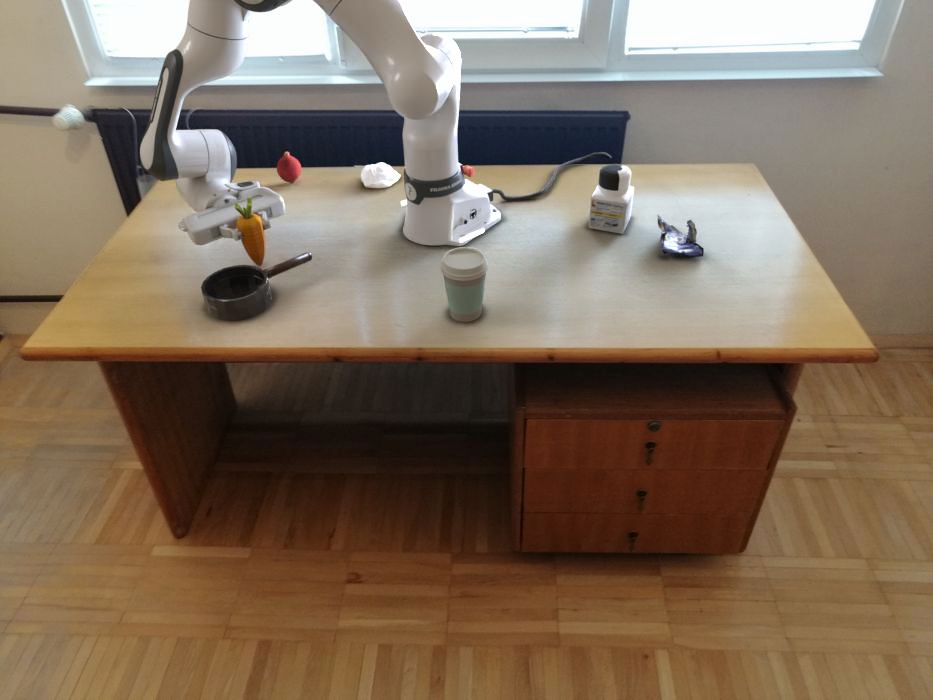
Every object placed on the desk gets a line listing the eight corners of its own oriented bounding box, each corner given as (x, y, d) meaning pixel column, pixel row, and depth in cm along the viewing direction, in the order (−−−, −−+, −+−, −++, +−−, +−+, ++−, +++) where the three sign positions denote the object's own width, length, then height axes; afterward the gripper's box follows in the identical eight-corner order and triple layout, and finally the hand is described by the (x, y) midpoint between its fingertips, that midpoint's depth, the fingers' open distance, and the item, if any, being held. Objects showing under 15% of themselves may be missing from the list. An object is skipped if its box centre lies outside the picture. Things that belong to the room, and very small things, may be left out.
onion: (298, 189, 175) (292, 158, 170) (276, 187, 176) (269, 156, 171) (307, 178, 179) (301, 148, 174) (285, 177, 180) (279, 146, 175)
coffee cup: (496, 306, 135) (496, 251, 128) (475, 331, 129) (474, 275, 122) (456, 295, 138) (454, 241, 131) (434, 319, 133) (430, 263, 125)
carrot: (251, 274, 146) (234, 208, 136) (244, 263, 149) (228, 197, 140) (275, 268, 147) (259, 202, 138) (268, 256, 151) (253, 191, 141)
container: (587, 228, 157) (593, 173, 148) (596, 212, 162) (602, 158, 154) (623, 234, 154) (630, 178, 146) (630, 217, 160) (638, 163, 152)
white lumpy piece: (356, 157, 177) (395, 152, 179) (358, 174, 180) (397, 169, 182) (361, 174, 170) (402, 169, 171) (363, 192, 173) (403, 186, 174)
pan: (253, 277, 145) (248, 258, 142) (283, 303, 138) (279, 283, 135) (196, 300, 139) (190, 281, 136) (224, 329, 132) (218, 309, 129)
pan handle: (310, 257, 145) (308, 249, 144) (314, 260, 144) (313, 253, 143) (260, 277, 140) (258, 270, 139) (265, 281, 139) (263, 273, 138)
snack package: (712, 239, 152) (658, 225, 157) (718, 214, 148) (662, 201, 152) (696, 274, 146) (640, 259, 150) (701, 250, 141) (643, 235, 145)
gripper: (170, 209, 143) (199, 235, 135) (262, 177, 153) (295, 200, 145) (179, 236, 147) (208, 263, 139) (268, 204, 157) (300, 227, 149)
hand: (253, 231), depth 142 cm, fingers closed on carrot, 5 cm apart
